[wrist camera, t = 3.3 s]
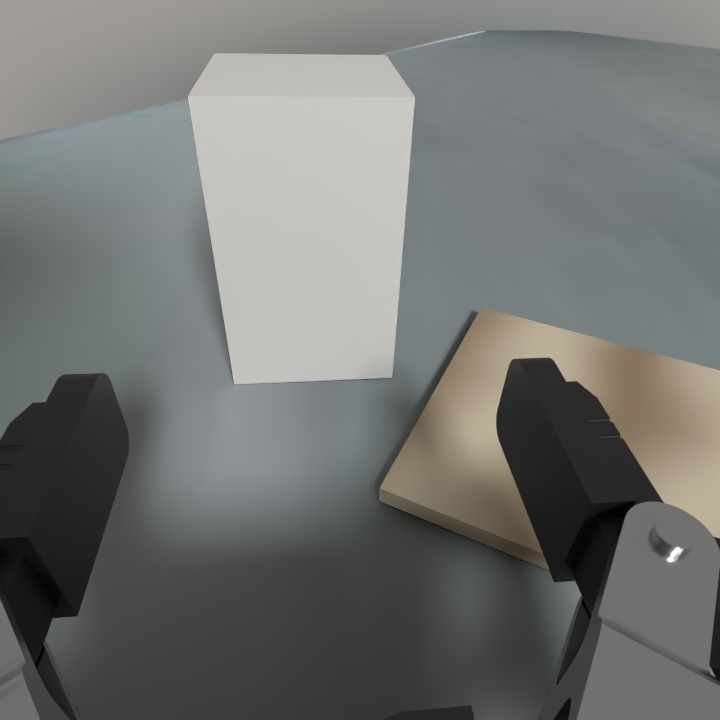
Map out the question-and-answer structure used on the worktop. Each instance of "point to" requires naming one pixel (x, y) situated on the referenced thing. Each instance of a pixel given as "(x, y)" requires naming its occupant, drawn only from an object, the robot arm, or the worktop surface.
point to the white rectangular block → (305, 209)
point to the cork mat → (576, 363)
